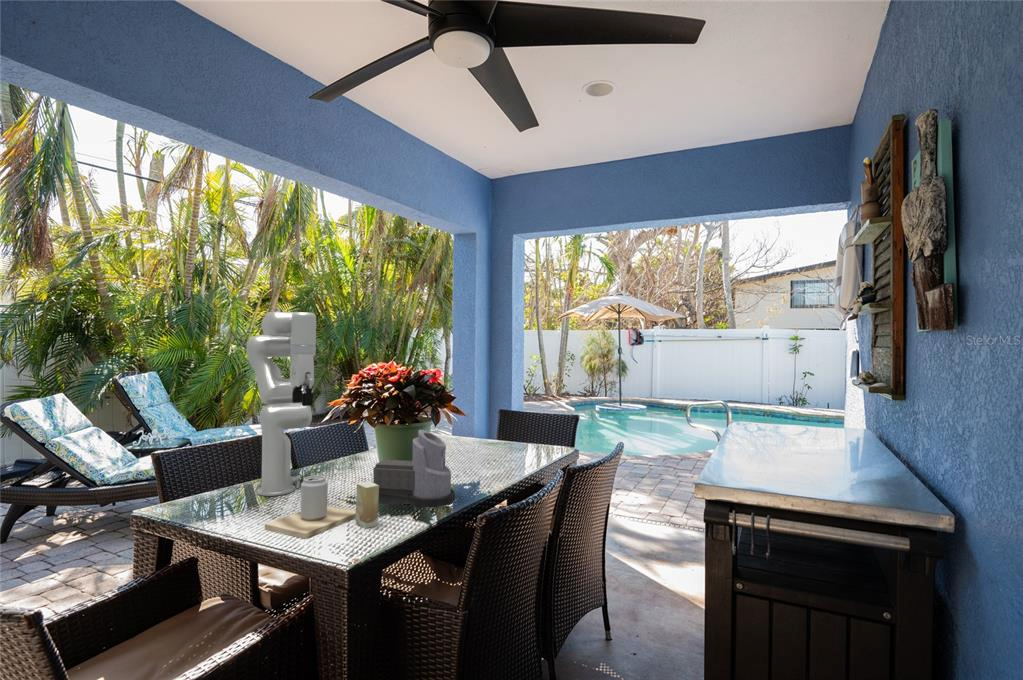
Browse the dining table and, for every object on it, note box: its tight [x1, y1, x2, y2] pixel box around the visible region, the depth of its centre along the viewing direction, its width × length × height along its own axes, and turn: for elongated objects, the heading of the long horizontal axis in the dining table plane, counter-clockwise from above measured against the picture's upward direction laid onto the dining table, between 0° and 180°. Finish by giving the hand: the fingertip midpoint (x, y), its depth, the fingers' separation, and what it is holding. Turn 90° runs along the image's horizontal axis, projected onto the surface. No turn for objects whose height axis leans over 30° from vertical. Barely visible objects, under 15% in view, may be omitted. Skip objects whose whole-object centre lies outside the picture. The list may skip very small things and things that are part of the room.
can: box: [300, 475, 329, 521], centre depth 163 cm, size 8×8×12 cm
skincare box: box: [355, 480, 379, 529], centre depth 162 cm, size 6×4×12 cm
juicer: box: [372, 429, 456, 508], centre depth 187 cm, size 30×16×24 cm, turn 81°
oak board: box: [264, 504, 356, 540], centre depth 163 cm, size 22×16×2 cm
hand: (302, 404), depth 174 cm, fingers open, 9 cm apart
